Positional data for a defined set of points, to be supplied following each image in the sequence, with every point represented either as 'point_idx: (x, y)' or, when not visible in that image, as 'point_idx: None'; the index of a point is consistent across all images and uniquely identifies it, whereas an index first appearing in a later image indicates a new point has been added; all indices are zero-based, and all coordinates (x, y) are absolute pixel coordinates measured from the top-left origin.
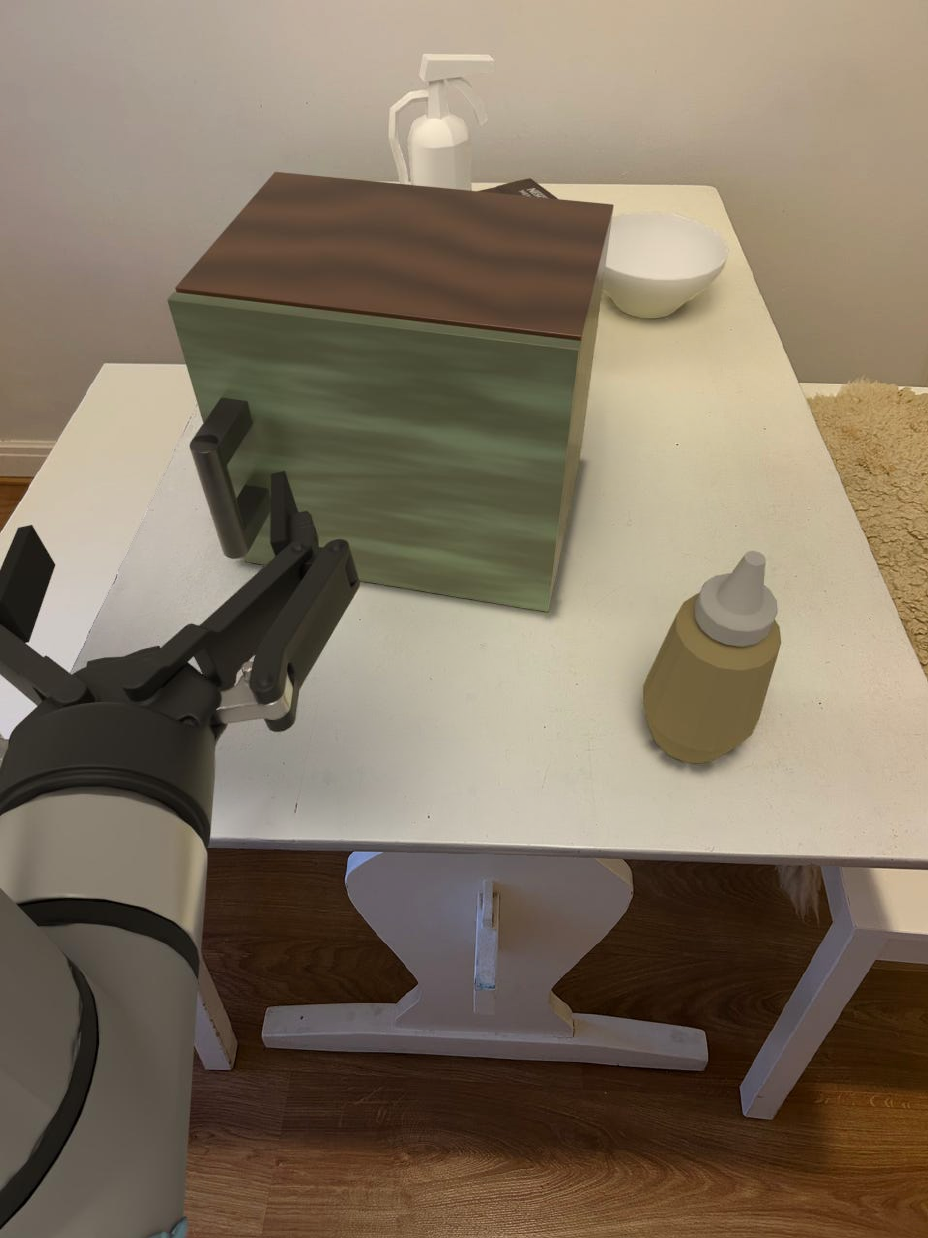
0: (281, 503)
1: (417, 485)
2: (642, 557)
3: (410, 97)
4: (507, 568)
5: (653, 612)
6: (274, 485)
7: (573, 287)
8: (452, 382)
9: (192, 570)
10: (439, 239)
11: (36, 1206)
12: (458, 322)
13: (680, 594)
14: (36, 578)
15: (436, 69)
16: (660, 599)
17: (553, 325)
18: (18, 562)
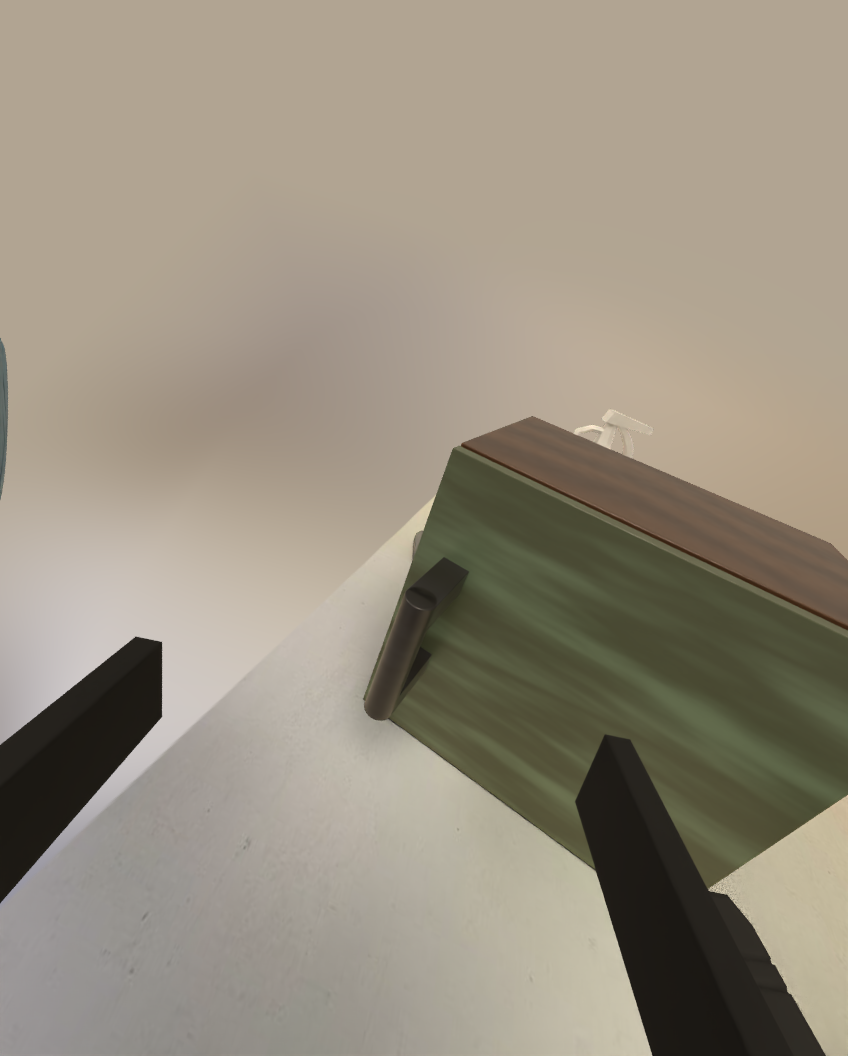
0: (682, 856)
1: (601, 730)
2: (746, 875)
3: (592, 428)
4: None
5: (783, 978)
6: (630, 775)
7: None
8: (740, 657)
9: (314, 687)
10: (696, 508)
11: None
12: (784, 597)
13: (805, 959)
14: (91, 764)
15: (617, 418)
16: (785, 957)
17: None
18: (60, 737)
